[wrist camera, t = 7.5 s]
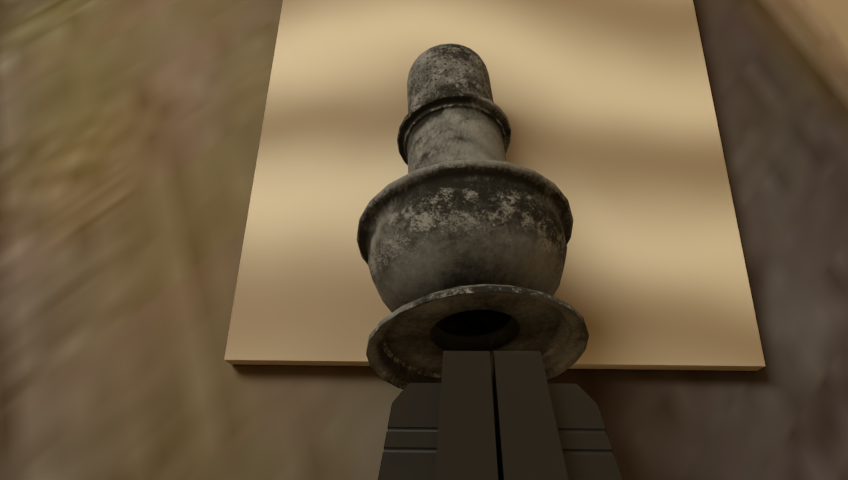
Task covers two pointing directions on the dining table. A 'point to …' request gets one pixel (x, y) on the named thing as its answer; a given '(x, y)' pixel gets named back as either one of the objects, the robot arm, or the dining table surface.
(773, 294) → the dining table surface
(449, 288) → the grey chess piece
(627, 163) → the birch board
